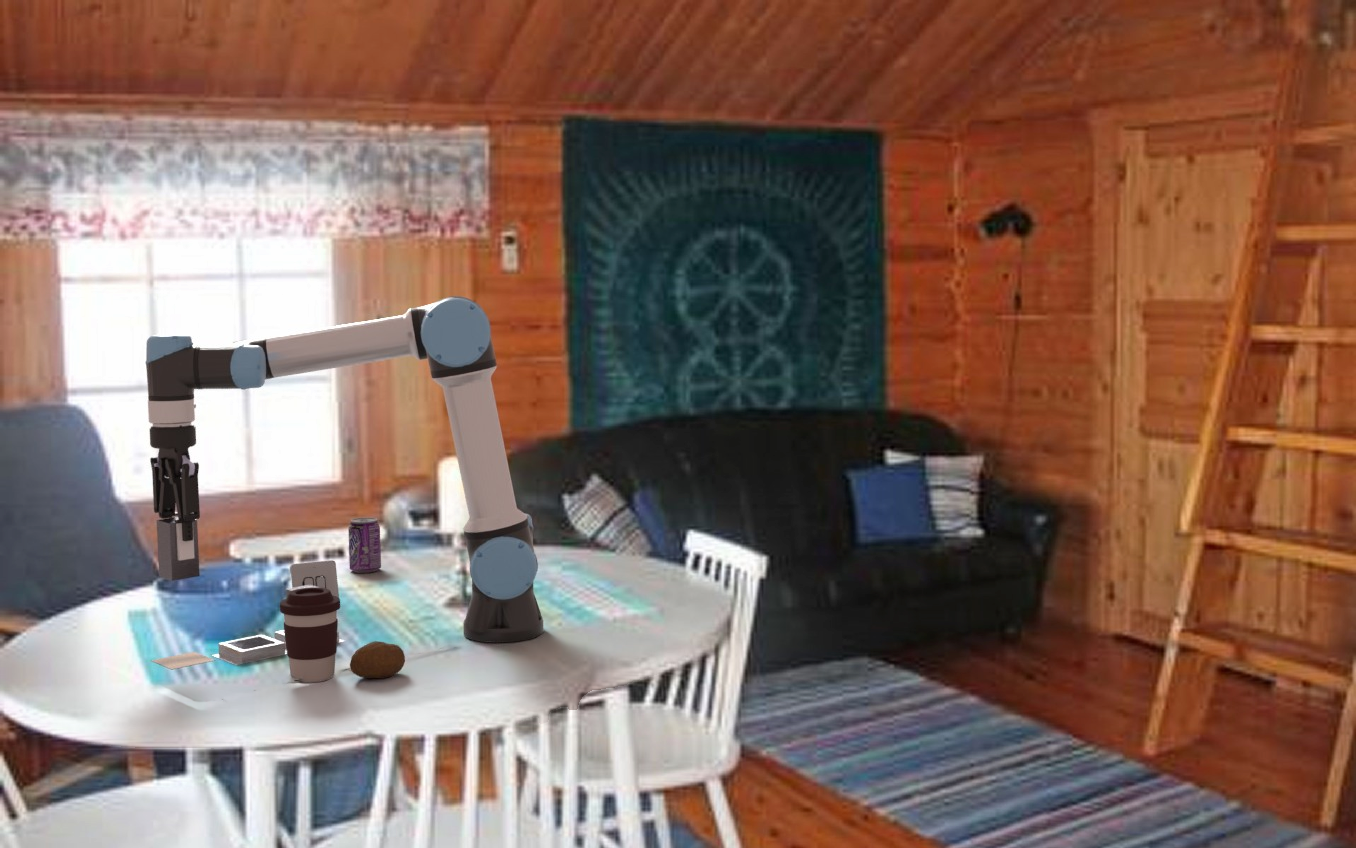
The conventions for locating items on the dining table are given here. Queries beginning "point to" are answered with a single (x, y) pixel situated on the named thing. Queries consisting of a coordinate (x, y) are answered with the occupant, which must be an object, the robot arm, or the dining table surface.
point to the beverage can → (364, 545)
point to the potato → (377, 660)
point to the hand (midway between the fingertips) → (178, 556)
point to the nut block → (175, 552)
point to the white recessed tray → (254, 648)
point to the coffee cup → (311, 633)
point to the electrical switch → (315, 575)
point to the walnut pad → (183, 660)
